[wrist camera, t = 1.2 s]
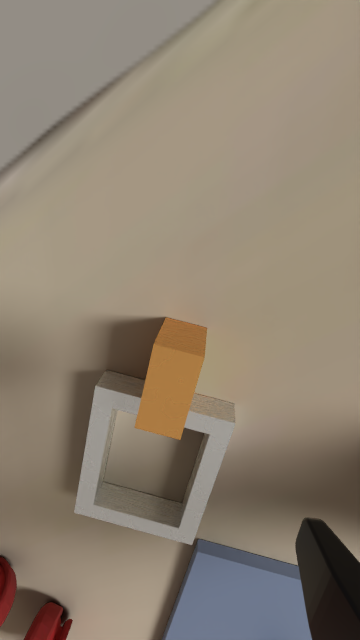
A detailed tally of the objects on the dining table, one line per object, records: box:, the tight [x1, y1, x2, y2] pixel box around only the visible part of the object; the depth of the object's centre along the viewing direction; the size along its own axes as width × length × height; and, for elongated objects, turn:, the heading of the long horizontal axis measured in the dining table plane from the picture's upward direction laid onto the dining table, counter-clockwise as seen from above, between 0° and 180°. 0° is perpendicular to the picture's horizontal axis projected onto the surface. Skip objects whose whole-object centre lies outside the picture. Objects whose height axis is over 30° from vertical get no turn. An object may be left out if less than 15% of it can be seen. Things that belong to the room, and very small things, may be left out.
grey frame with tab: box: [74, 317, 235, 545], centre depth 20 cm, size 15×8×4 cm, turn 167°
